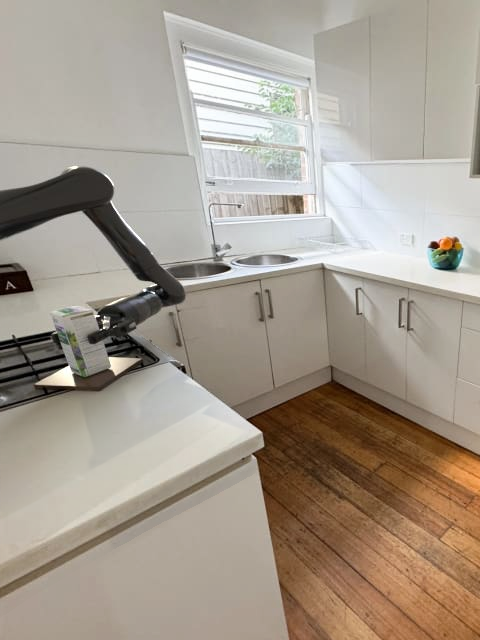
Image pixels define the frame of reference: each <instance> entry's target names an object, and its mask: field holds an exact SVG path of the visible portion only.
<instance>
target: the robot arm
mask: <svg viewBox="0 0 480 640" xmlns="http://www.w3.org/2000/svg"><path fill="white" fill-rule="evenodd" d="M114 195H115V186H114V183H113V181H112V180H111V179H110V177H109V176H108V175H106V174H105V173H103V172H102V171H100V170H99V169H96V168H93V167H91V166H86V165H85V166H84V165H83V166H71V167H68V168H65V169H64V170H62V171H61V172H60V174H59V175H57V176H55V177H52V178H49V179H47V180H44V181H41V182H39V183H35V184H32V185H27V186H23V187H22V186H21V187H13V188H7V189H6V188H5V189H1V190H0V242H2V241H5V240H8V239H10V238H13V237H15V236H18V235H20V234H23V233H25V232H28V231H30V230H32V229H35V228H37V227H39V226H41V225H44V224H46V223H48V222H50V221H53V220H55V219H58V218H61V217H64V216H68V215H71V214H77V213H80V212H82V213H83V215H85V216H86V217H87V219H89V220H90V221H91V222H92V224H93V225H94V226H95V227H96V228H97V230H99V232H100V233H101V234H102V236H104V238H105V239H106V241H107V242H108V243H109V245H111V247H112V249H113V250H114V251H115V252H116V254H117V255H118V256H119V257H120V259H121V260H122V262H123V263H124V264H125V267H127V268H128V270H129V271H130V272H131V273H132V275H133V276H134V278H136V279H137V280H138V281H141V282H149V283H153V284H151V285H147V286H146V287H144V288H143V289H141V290H140V291H138V292H136V293H134V294H131V295H129V296H124V297H122V298H118V299H116V300H114V301H112V302H110V303H107V304H105V305H103V306H101V307H100V308H99V309H98V311H97V313H96V315H95V318H96V321H97V324H98V327H99V330H97V331H95V332H93V333H91V334H89V335H88V336H87V338H88V341H89V343H90V344H96V343H98V342H100V341H102V340H103V341H104V340H105V339H112V338H113V337H115V338H119V339H120V338H122V337H124V336H126V335H128V334H129V333H131V332H133V331H135V330H137V326H139V325H141V324H143V323H144V322H146V320H148V319H150V318H152V317H154V316H155V315H157V314H158V313H160V312H161V310H162V309H163V308H168V307H173V306H178V305H181V304H182V303H184V302H185V300H186V299H187V291H186V288H185V287H184V285H183V284H182V283H181V281H179V280H178V279H177V278H176V277H175V276H174V275H172V274H171V273H170V272H169V271H168V270H167V269H165V267H164V266H162V265H161V264H160V262H159V261H158V259H157V258H156V257H155V256H154V253H153V252H152V251H151V249H150V248H149V247H148V246H147V245H146V243H145V242H144V241H143V239H141V238H140V237H139V236H138V235H137V233H135V231H133V229H132V228H131V227H130V226H129V225H128V224H127V222H126V221H125V220H124V219H123V217H122V216H121V214H119V212H118V211H117V209H116V207H115V206H114V204H113V202H112V200H113V198H114ZM50 337H51V339H52V342H53V344H61V343H60V340H59V337H58V334H57V331H55V332H53V333H50Z"/></svg>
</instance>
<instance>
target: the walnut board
mask: <svg viewBox="0 0 480 640" xmlns="http://www.w3.org/2000/svg"><path fill="white" fill-rule="evenodd" d="M108 358H109V361H110V364H111V367H110V368H108V369H105V370H103V371H100V372H98V373H95V374H92V375H90V376H87V377H83V376H80V375H78V374H76V373H74V372H72V371H71V369H70V367H69V365H68V366H65V367H64V368H62V369H60V370H58V371H56V372H54V373H52V374H50V375H48V376H47V377H45V378H43V379H40V380H39V381H38V382H36V383H34V384H33V388H34V389H35V390H44V389H43V386H44V387H45V388H46V389H45V390H58V391H59V390H60V389H75V390H74V391H86V390H87V391H88V390H89V392H91V391H92V392H100V391H103V390H104V389H105V388H107V387H109V385H111V384H113V383H114V382H116V381H117V380H119V379H120V378H121V377H123V376H125V375H126V374H127V373H129V372H130V371H132V370H134V369H135V368H137V367H138V366H140V365H141V364H142V363H144V359H143V358H141V357H119V356H118V357H114V356H108ZM128 371H129V372H128ZM126 372H127V373H126ZM125 373H126V374H125Z"/></svg>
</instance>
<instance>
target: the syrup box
mask: <svg viewBox="0 0 480 640" xmlns="http://www.w3.org/2000/svg"><path fill="white" fill-rule="evenodd" d="M49 315H50V317H51V320H52V323H53V326H54V328H55V332H57V334H58V337H59V340H60V343H59V344H60V345H61V348H62V351H63V353H64V356H65V358H66V362H67V365H68V366H69V367H70V369H71V371H72V372H74V373H76V374H78V375H80V376H83V377H87V376H90V375H92V374H95V373H98V372H100V371H103V370H105V369H108V368H110V367H111V364H110V361H109V358H108V357H109V355H108V352H107V349H106V346H105V343H104V340H102V341H100V342H98V343H96V344H90V343H89V341H88V338H87V336H88V335H89V334H91V333H93V332H95V331H97V330H99V327H98V324H97V321H96V318H95V316H96V315H95V312H94V310H93V308H92V309H90V308H88V307H84V306H81V305H73V306H67V307H63V308H58V309H56V310H52V311H50V312H49Z"/></svg>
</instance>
